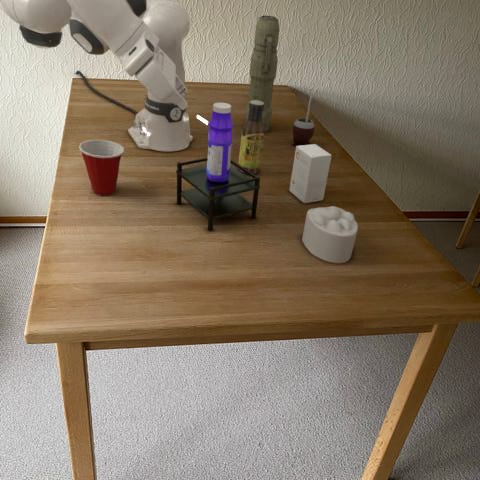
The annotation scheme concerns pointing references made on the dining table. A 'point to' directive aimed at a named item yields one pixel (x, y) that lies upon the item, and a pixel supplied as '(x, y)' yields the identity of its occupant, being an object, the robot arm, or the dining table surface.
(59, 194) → the dining table surface
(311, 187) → the small box
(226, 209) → the tray
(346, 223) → the lumpy-topped squat cylinder
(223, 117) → the bottle
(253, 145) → the sauce bottle
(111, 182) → the plastic cup
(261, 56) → the stone statue
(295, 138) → the mate gourd
